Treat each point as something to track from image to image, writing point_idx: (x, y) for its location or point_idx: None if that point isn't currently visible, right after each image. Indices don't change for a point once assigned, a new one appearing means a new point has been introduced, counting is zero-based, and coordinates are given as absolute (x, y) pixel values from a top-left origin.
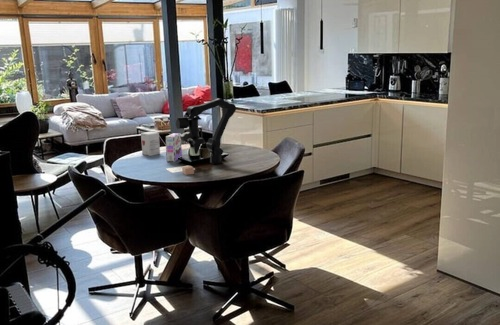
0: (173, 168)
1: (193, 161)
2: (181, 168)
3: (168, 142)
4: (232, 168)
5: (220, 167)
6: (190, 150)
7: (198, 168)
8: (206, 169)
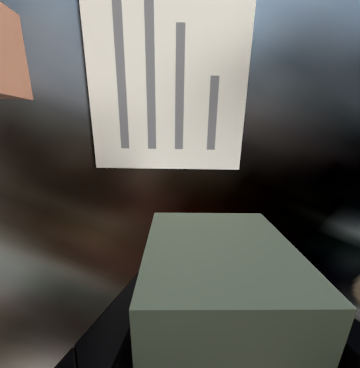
0: (222, 2)
1: (335, 245)
2: (179, 74)
3: None
4: (26, 352)
5: (79, 315)
6: (250, 253)
7: (121, 198)
8: (67, 231)
